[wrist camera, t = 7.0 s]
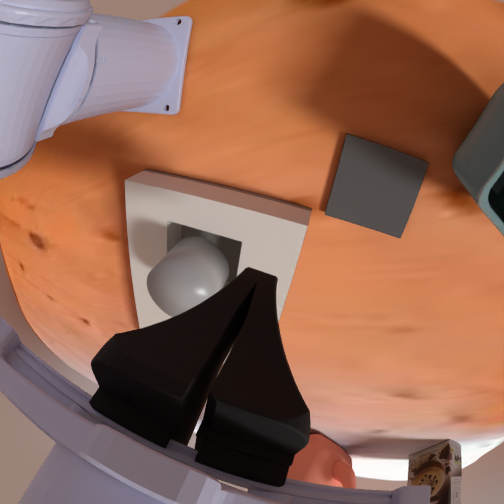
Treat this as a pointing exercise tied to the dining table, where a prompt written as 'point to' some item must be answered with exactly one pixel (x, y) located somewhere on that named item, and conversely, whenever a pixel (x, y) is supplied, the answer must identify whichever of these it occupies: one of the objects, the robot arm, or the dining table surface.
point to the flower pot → (485, 160)
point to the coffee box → (438, 472)
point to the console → (209, 230)
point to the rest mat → (375, 186)
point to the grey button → (187, 275)
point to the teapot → (323, 464)
